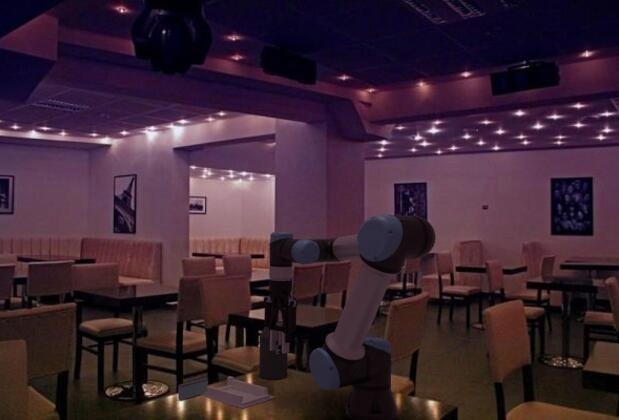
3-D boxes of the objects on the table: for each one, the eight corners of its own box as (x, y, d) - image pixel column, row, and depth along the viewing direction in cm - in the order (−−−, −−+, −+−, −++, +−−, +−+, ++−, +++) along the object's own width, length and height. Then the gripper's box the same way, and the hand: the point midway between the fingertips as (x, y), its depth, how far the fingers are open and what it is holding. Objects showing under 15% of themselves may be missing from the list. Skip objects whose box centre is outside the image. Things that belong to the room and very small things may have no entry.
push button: (285, 356, 181) (287, 325, 181) (269, 354, 181) (271, 323, 181) (289, 351, 187) (291, 321, 187) (274, 350, 188) (275, 320, 188)
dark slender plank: (207, 392, 188) (208, 378, 188) (180, 400, 180) (181, 385, 180) (205, 391, 189) (205, 378, 189) (178, 399, 181) (178, 385, 181)
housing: (275, 398, 184) (275, 387, 184) (242, 408, 173) (242, 397, 173) (230, 385, 198) (230, 376, 198) (197, 395, 187) (197, 384, 187)
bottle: (288, 374, 214) (288, 294, 215) (286, 381, 204) (287, 297, 205) (260, 373, 214) (261, 294, 215) (258, 380, 205) (258, 297, 206)
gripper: (308, 280, 182) (307, 353, 181) (269, 276, 193) (268, 344, 193) (292, 282, 176) (291, 358, 176) (253, 277, 188) (252, 348, 187)
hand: (279, 351), depth 184 cm, fingers closed on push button, 5 cm apart
